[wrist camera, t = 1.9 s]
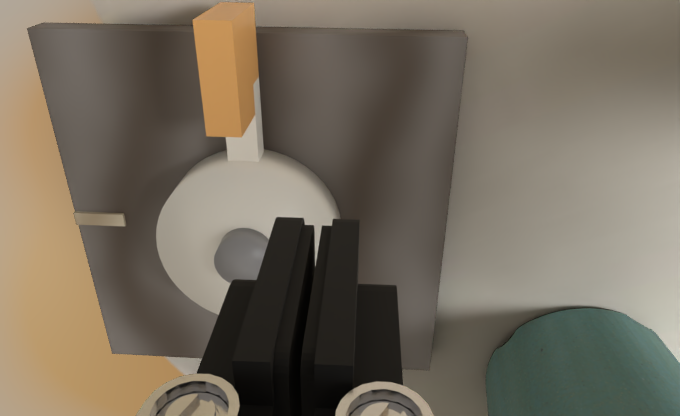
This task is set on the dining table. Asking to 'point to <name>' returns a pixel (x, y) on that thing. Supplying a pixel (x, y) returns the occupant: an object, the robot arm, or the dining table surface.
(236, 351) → the robot arm
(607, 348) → the flower pot
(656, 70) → the dining table surface
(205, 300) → the white handled round piece
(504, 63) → the dining table surface
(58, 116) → the dial board
